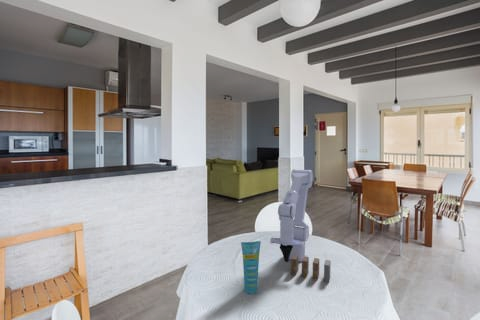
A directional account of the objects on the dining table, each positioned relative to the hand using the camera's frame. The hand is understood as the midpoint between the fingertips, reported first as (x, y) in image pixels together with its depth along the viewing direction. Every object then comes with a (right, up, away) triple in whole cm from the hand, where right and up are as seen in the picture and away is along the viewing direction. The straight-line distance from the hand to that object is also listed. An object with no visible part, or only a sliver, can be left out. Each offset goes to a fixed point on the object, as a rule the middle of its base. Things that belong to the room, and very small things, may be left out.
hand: (286, 261), depth 112 cm
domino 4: (+16, -5, -7) cm, 18 cm away
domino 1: (+3, -5, -1) cm, 6 cm away
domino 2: (+7, -5, -3) cm, 9 cm away
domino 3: (+11, -5, -5) cm, 13 cm away
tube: (-16, -6, -15) cm, 23 cm away
